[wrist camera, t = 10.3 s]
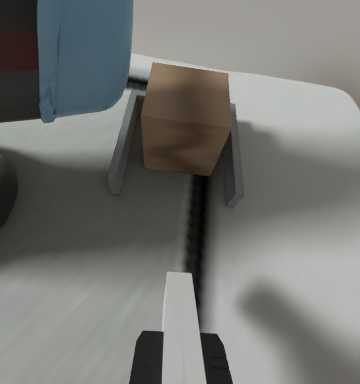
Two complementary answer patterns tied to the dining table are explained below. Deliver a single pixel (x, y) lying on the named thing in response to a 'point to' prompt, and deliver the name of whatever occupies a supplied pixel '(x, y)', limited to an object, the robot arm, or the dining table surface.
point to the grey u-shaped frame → (125, 139)
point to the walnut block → (185, 119)
